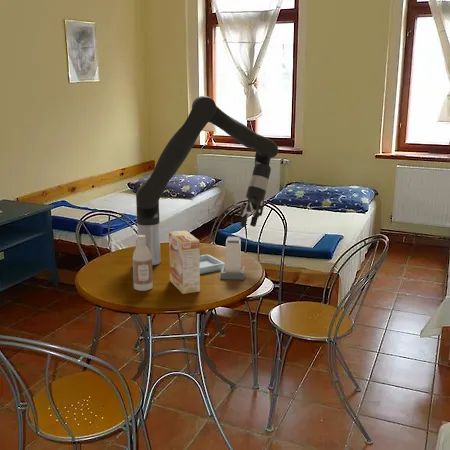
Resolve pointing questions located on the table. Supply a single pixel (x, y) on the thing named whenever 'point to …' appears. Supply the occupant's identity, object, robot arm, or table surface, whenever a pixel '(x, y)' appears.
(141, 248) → the bath foam
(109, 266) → the table surface
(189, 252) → the coffeecake box
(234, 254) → the box
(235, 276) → the dock
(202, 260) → the tray
